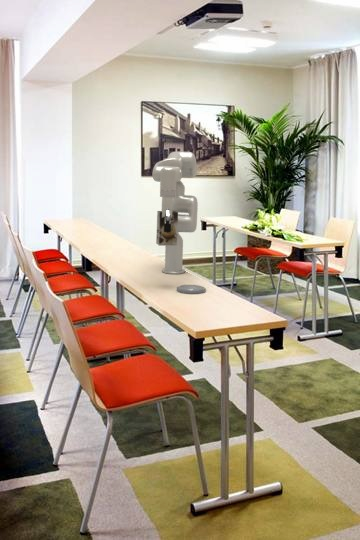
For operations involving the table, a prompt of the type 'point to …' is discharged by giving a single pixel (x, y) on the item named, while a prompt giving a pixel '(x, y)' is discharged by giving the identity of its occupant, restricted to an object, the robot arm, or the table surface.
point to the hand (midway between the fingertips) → (167, 230)
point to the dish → (191, 289)
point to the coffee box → (167, 237)
